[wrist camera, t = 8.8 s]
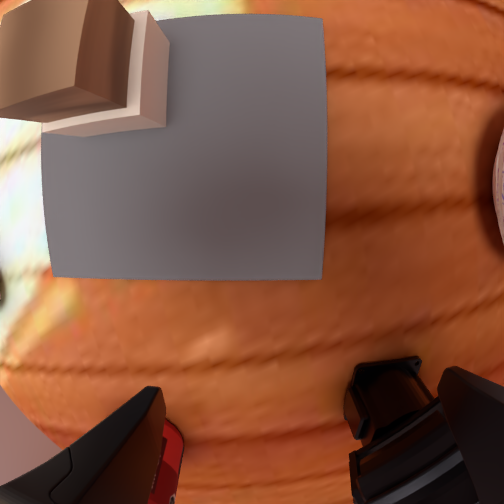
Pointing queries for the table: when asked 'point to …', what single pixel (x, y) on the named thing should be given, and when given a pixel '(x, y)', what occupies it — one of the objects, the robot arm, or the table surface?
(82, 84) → the walnut block
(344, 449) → the table surface
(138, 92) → the cream block
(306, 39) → the build mat
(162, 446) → the canned food
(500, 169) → the paper bowls
